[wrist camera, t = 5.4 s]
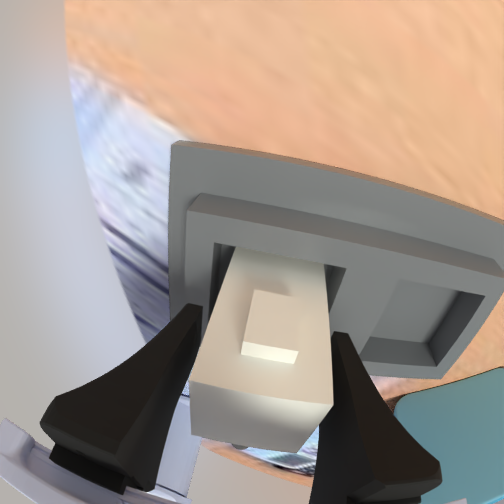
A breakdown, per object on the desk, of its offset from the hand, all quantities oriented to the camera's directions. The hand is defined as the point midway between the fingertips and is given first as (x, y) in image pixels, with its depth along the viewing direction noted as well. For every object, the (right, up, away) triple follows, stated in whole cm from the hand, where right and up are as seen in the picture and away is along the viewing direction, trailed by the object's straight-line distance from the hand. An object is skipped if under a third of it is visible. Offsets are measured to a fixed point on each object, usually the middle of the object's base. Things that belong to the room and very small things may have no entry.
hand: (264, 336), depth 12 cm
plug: (0, +1, +4) cm, 4 cm away
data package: (+17, -9, +9) cm, 22 cm away
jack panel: (+5, +2, +4) cm, 6 cm away
